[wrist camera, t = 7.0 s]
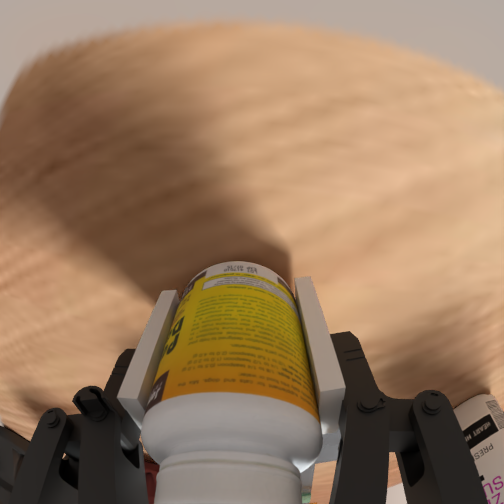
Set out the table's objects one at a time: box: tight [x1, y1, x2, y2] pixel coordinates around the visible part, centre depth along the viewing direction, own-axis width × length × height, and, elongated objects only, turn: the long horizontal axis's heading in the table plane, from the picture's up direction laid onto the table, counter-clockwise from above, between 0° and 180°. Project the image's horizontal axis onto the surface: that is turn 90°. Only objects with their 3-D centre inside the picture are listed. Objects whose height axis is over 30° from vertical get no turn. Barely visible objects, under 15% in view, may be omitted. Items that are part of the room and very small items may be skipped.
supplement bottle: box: [141, 261, 323, 504], centre depth 10 cm, size 6×6×10 cm
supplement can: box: [453, 394, 504, 504], centre depth 16 cm, size 8×8×15 cm
